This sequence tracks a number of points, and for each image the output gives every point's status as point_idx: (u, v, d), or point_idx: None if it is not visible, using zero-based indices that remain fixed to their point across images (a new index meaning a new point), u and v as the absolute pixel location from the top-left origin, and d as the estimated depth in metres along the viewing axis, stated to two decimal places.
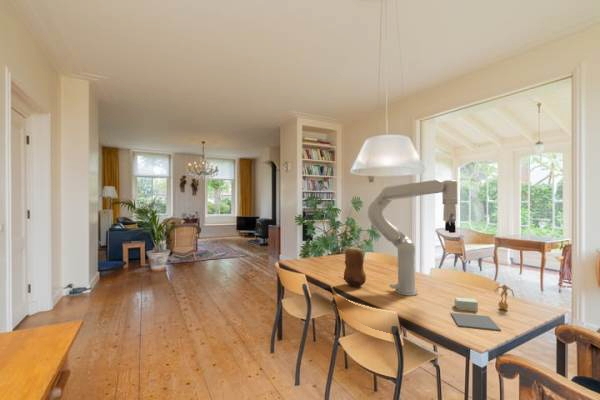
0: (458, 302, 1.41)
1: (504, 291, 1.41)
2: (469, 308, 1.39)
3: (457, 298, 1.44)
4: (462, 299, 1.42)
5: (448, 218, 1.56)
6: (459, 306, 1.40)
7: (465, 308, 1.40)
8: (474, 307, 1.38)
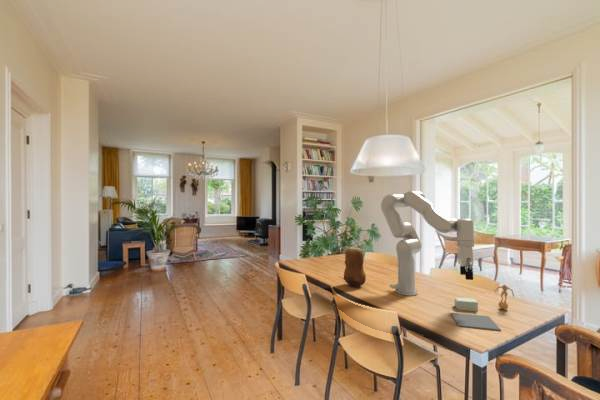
0: (458, 302, 1.40)
1: (504, 291, 1.41)
2: (469, 308, 1.39)
3: (457, 298, 1.44)
4: (462, 299, 1.42)
5: (464, 263, 1.38)
6: (460, 306, 1.40)
7: (465, 308, 1.40)
8: (474, 307, 1.39)
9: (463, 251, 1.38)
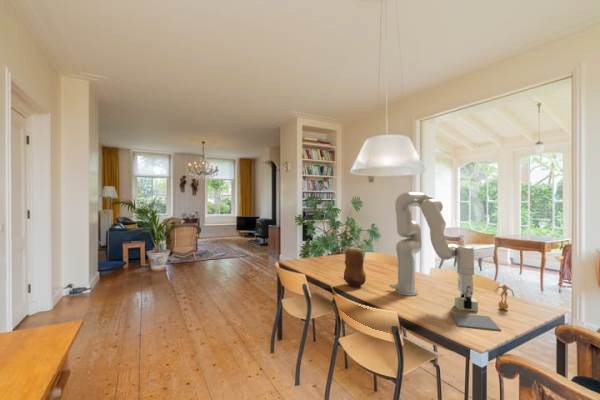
0: (458, 302, 1.40)
1: (504, 291, 1.41)
2: None
3: (457, 298, 1.44)
4: (462, 299, 1.42)
5: (464, 291, 1.38)
6: (460, 306, 1.40)
7: (465, 308, 1.40)
8: (474, 307, 1.39)
9: (463, 279, 1.38)
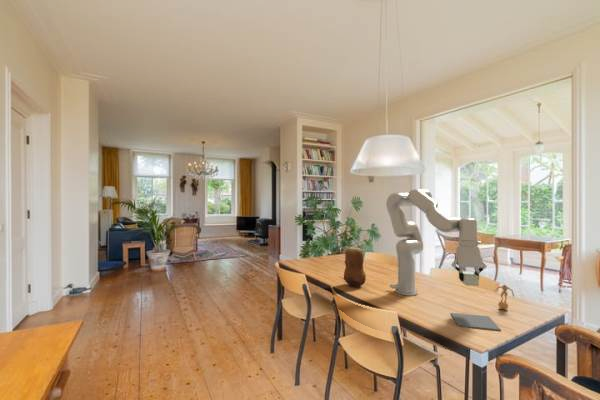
0: None
1: (504, 291, 1.41)
2: None
3: (468, 272, 1.39)
4: (467, 273, 1.37)
5: None
6: None
7: None
8: (464, 280, 1.33)
9: None
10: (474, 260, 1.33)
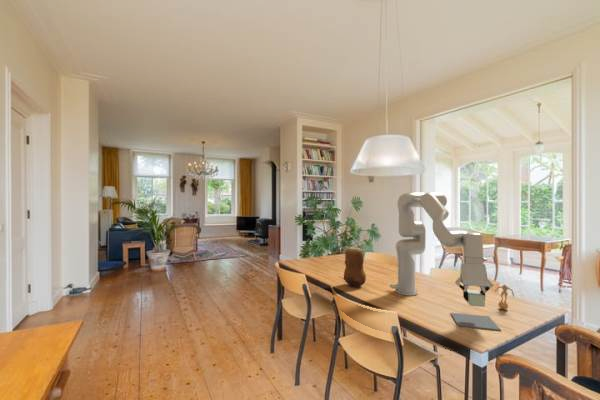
0: None
1: (504, 291, 1.41)
2: None
3: (473, 290, 1.29)
4: (472, 291, 1.27)
5: None
6: None
7: None
8: (469, 300, 1.24)
9: None
10: (480, 278, 1.23)
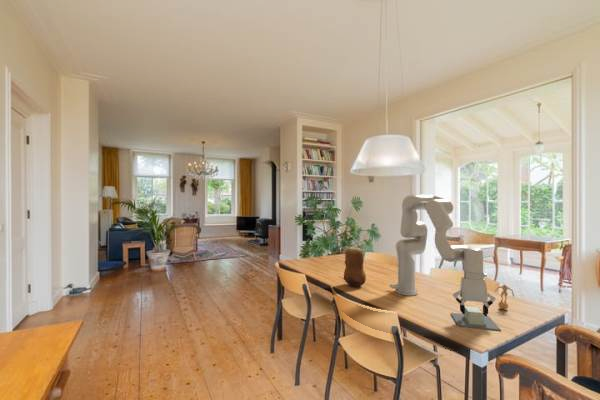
0: None
1: (504, 291, 1.41)
2: (467, 317, 1.26)
3: (473, 307, 1.29)
4: (472, 309, 1.28)
5: None
6: None
7: (466, 316, 1.28)
8: (468, 318, 1.24)
9: None
10: (480, 294, 1.23)
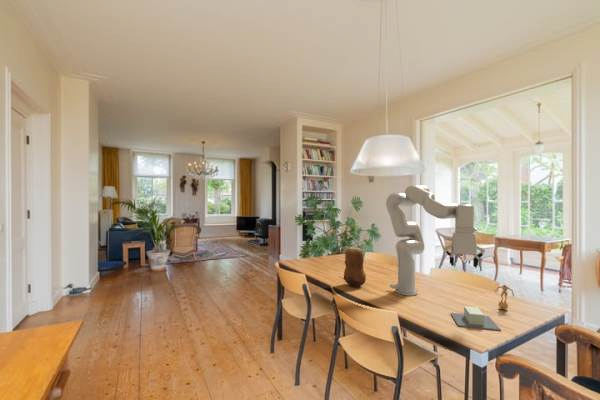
0: (464, 308, 1.31)
1: (504, 291, 1.41)
2: (467, 317, 1.26)
3: (473, 307, 1.29)
4: (472, 309, 1.28)
5: (451, 248, 1.37)
6: (464, 313, 1.30)
7: (466, 316, 1.28)
8: (468, 318, 1.24)
9: None
10: (469, 247, 1.31)
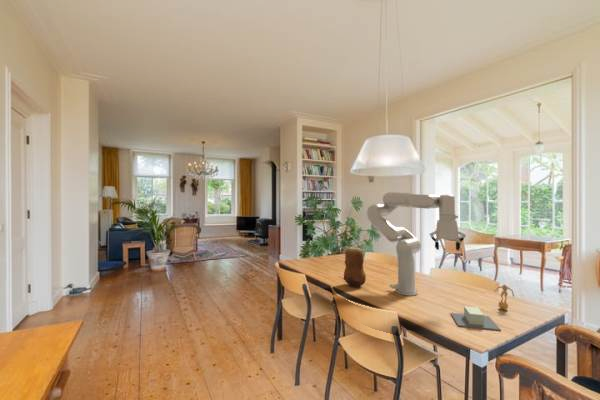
0: (464, 308, 1.31)
1: (504, 291, 1.41)
2: (467, 317, 1.26)
3: (473, 307, 1.29)
4: (472, 309, 1.28)
5: (436, 234, 1.53)
6: (464, 313, 1.30)
7: (466, 316, 1.28)
8: (468, 318, 1.24)
9: None
10: (452, 232, 1.47)
